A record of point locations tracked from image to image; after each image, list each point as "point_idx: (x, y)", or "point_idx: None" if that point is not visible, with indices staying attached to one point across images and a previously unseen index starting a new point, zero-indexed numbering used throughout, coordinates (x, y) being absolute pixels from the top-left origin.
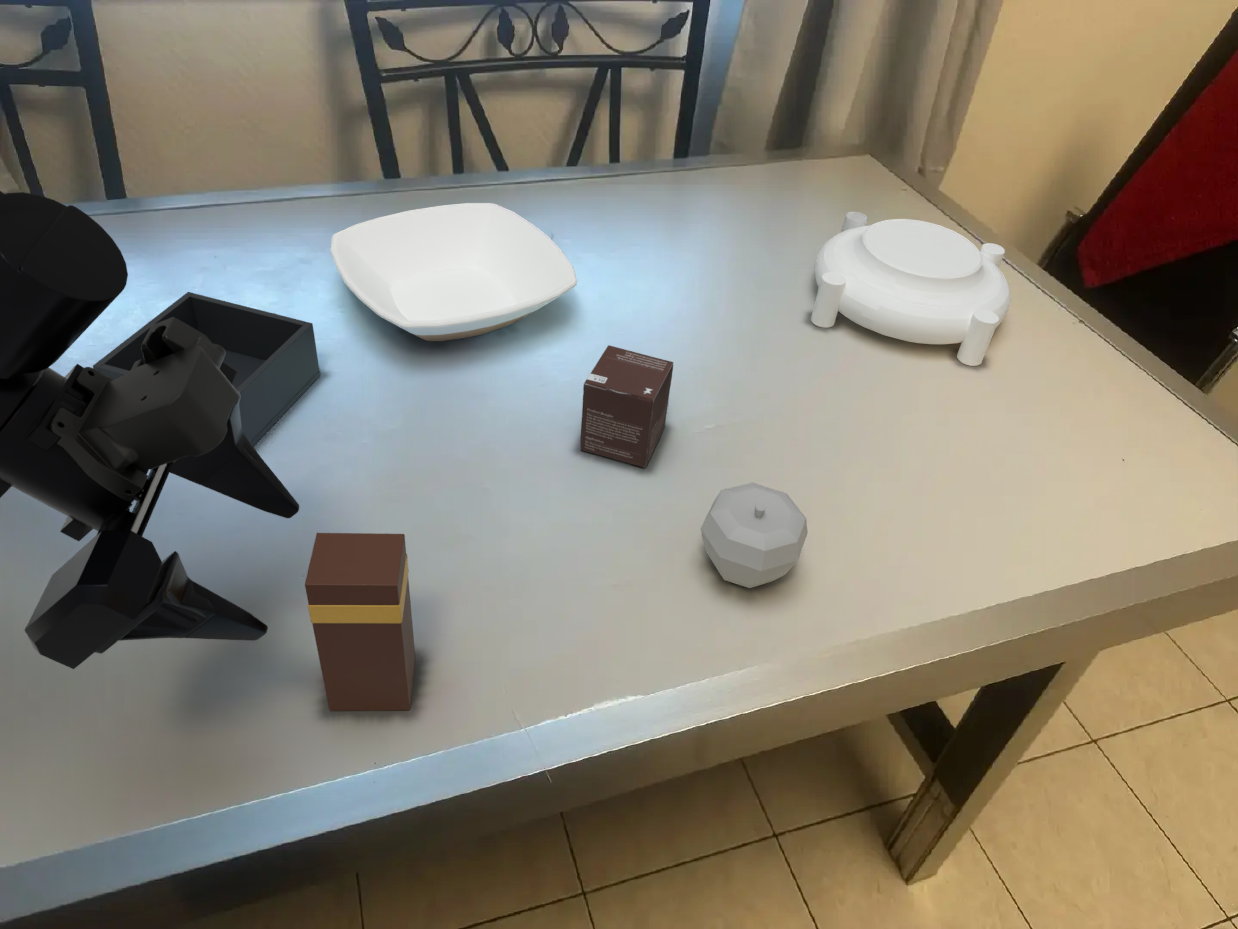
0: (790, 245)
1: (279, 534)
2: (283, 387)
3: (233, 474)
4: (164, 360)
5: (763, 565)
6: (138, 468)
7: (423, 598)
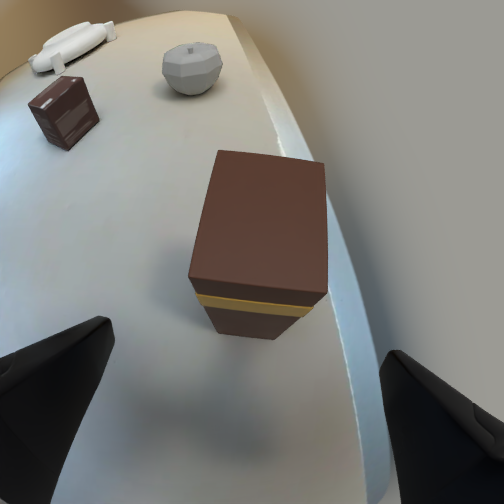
0: (19, 87)
1: None
2: None
3: (38, 424)
4: None
5: (221, 60)
6: None
7: (160, 258)
